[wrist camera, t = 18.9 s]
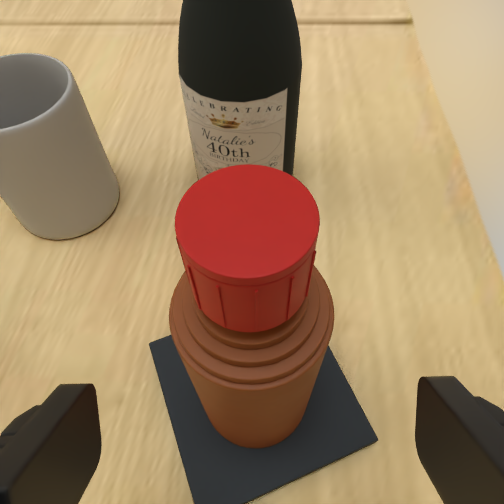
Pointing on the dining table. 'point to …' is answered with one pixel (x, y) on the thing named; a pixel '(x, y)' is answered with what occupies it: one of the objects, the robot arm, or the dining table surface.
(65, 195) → the mug
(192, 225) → the cap
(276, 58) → the wine bottle
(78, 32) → the dining table surface
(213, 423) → the bottle
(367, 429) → the mat
